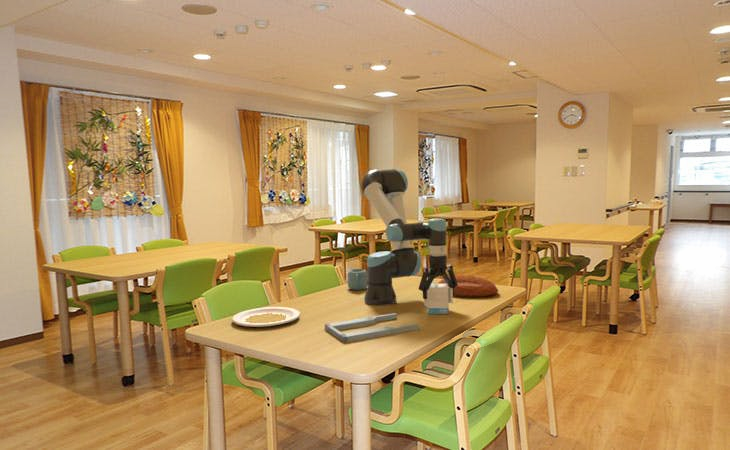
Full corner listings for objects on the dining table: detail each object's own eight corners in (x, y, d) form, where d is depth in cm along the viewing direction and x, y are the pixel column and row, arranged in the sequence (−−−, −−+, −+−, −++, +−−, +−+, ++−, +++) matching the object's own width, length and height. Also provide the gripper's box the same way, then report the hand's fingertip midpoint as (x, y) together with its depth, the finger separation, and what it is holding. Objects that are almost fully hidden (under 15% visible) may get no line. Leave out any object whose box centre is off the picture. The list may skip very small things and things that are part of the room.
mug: (368, 292, 261) (367, 273, 260) (346, 292, 261) (346, 273, 260) (368, 286, 276) (367, 268, 275) (348, 286, 276) (347, 268, 275)
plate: (275, 308, 234) (275, 303, 234) (313, 319, 214) (313, 314, 214) (220, 321, 214) (220, 316, 214) (256, 334, 194) (256, 328, 194)
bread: (494, 300, 237) (494, 282, 236) (428, 296, 250) (428, 278, 249) (501, 290, 258) (501, 273, 257) (441, 286, 271) (440, 270, 270)
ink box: (448, 314, 214) (447, 283, 213) (428, 314, 216) (427, 283, 215) (448, 309, 223) (448, 279, 222) (429, 308, 225) (429, 279, 223)
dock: (324, 329, 198) (324, 324, 198) (394, 317, 212) (394, 313, 212) (344, 342, 181) (344, 337, 181) (419, 329, 195) (419, 324, 194)
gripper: (418, 258, 209) (419, 309, 211) (465, 253, 219) (466, 302, 221) (409, 256, 215) (410, 306, 217) (455, 251, 226) (456, 299, 228)
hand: (438, 304), depth 219 cm, fingers closed on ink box, 11 cm apart
